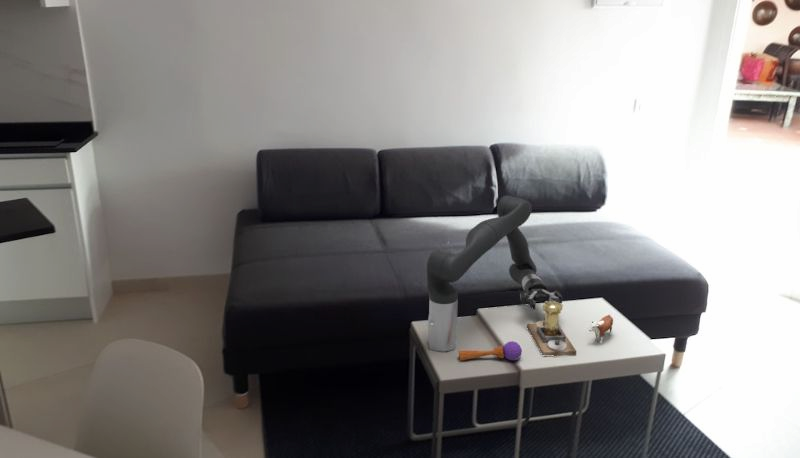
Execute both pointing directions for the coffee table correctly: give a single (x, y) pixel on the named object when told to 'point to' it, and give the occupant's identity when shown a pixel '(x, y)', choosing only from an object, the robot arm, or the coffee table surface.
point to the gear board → (551, 340)
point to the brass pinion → (551, 317)
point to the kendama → (495, 352)
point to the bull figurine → (602, 327)
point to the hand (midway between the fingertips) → (546, 306)
